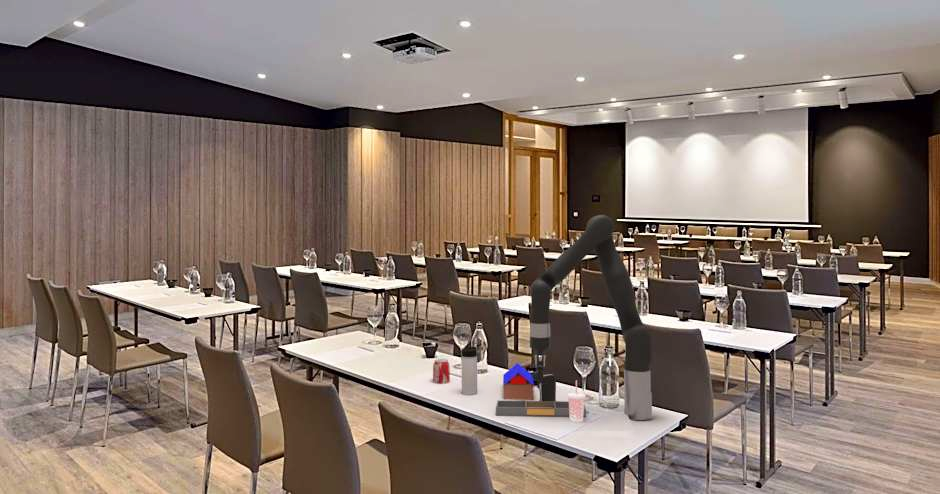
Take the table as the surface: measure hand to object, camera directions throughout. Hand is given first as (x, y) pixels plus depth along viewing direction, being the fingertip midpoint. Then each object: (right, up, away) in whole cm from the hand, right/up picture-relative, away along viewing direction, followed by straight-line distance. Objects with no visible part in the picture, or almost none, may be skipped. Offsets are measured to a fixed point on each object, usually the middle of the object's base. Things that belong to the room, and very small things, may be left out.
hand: (540, 380), depth 238 cm
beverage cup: (+12, -12, -10) cm, 19 cm away
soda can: (-38, -12, +40) cm, 56 cm away
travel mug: (-26, -12, +24) cm, 37 cm away
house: (-6, -12, +26) cm, 30 cm away
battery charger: (+4, -12, +12) cm, 18 cm away
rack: (0, -12, 0) cm, 12 cm away
